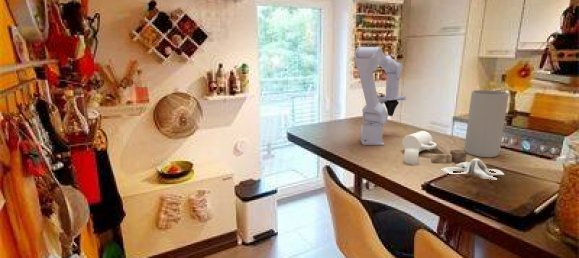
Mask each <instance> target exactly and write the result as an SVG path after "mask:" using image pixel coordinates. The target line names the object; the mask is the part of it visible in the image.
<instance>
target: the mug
mask: <svg viewBox="0 0 579 258" xmlns="http://www.w3.org/2000/svg"><path fill="white" fill-rule="evenodd" d="M433 141H434V139H433V136H432V135H431V134H430V133H429V132H428V131H425V130H420V131H417V132H415V133H411V134H407V135H405V136H404V138H403V139H402V142H401V143H402V148H403V150H404V151H405V149H406V148H415V149H418V150H419V153H420V152H423V151H427V150H430V149H434V148H436V147H437V144H438V143H437V142H435V141H434V142H435V143H434V142H433ZM436 143H437V144H436Z"/></svg>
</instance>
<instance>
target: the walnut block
mask: <svg viewBox="0 0 579 258" xmlns="http://www.w3.org/2000/svg"><path fill="white" fill-rule="evenodd" d="M449 153H450V154H451V155H452V161H451V163H452V162H453V163H454V164H459V163H462V162H467V154H468V153H467V152H466V151H465V150H464V151H463V150H461V149H451V150H450V152H449Z"/></svg>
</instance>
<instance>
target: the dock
mask: <svg viewBox="0 0 579 258" xmlns="http://www.w3.org/2000/svg"><path fill="white" fill-rule="evenodd" d="M433 142H434V143H436V144H437V147H436V148H434V149H429V150H430V151H431V152H433V153H431V158H430V162H431V163H433V164H434V163H436V164H437V163H439V164H440V163H441V164H443V163H444V164H445V163H446V164H447V163H448V164H449V163H450V164H451V163H452V155H451V154H450V152H449V151H447V150H446V149H445V148H443V146H441V145H440V144H438V143H437V142H436V141H434V140H433Z"/></svg>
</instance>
